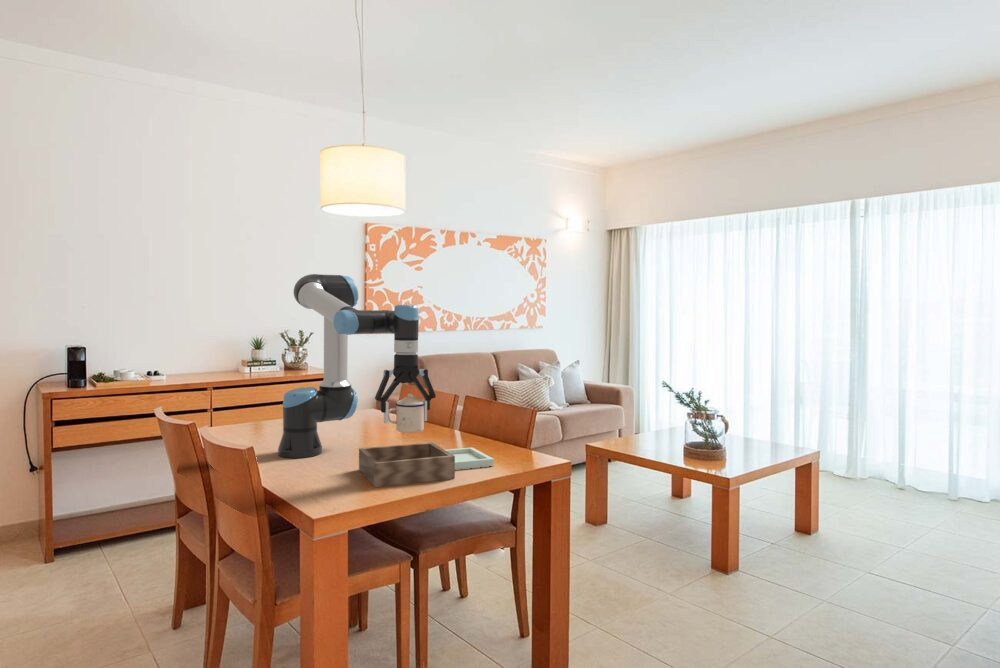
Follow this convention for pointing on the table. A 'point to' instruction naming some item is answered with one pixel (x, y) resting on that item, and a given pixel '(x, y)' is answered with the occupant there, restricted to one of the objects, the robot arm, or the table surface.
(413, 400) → the teacup with lid
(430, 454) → the deep box
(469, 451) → the tray
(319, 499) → the table surface
